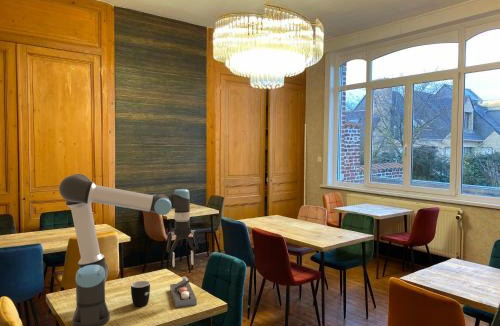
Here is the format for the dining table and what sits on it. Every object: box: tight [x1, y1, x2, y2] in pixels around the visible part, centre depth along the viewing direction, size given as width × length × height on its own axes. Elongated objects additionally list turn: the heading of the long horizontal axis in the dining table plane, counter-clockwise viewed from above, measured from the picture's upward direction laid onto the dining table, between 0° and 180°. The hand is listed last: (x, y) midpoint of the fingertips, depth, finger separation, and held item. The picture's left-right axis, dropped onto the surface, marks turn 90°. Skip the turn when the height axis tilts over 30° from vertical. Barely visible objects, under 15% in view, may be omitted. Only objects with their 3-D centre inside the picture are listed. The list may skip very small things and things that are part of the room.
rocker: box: [174, 277, 190, 290], centre depth 195 cm, size 8×4×1 cm, turn 108°
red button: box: [180, 287, 187, 295], centre depth 189 cm, size 4×4×3 cm
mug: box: [130, 280, 151, 308], centre depth 184 cm, size 12×9×10 cm
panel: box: [169, 282, 198, 308], centre depth 191 cm, size 10×24×5 cm, turn 18°
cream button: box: [181, 291, 189, 300], centre depth 183 cm, size 4×4×3 cm
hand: (182, 264), depth 188 cm, fingers open, 9 cm apart
